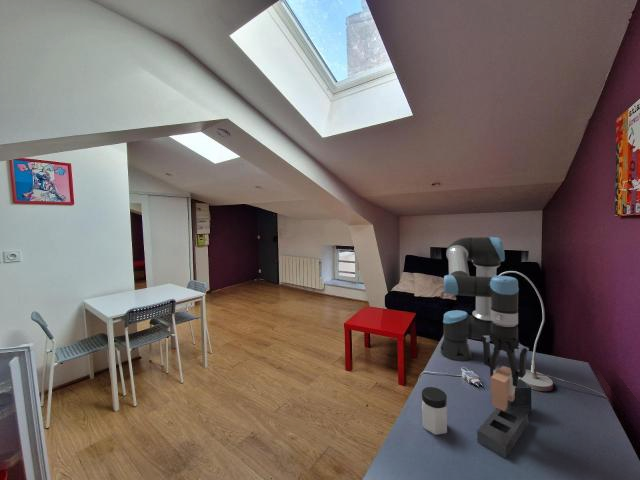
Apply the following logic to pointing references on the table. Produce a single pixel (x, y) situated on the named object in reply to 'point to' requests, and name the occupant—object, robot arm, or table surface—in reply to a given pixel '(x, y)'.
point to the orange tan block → (501, 388)
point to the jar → (434, 410)
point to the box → (522, 397)
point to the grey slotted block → (502, 429)
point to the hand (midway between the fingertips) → (503, 390)
